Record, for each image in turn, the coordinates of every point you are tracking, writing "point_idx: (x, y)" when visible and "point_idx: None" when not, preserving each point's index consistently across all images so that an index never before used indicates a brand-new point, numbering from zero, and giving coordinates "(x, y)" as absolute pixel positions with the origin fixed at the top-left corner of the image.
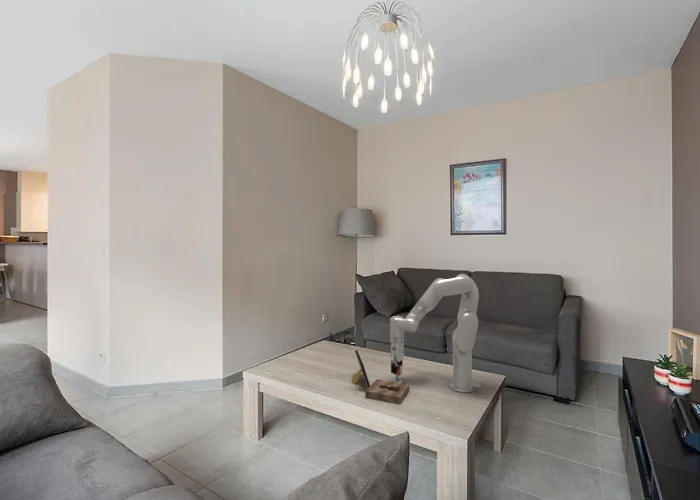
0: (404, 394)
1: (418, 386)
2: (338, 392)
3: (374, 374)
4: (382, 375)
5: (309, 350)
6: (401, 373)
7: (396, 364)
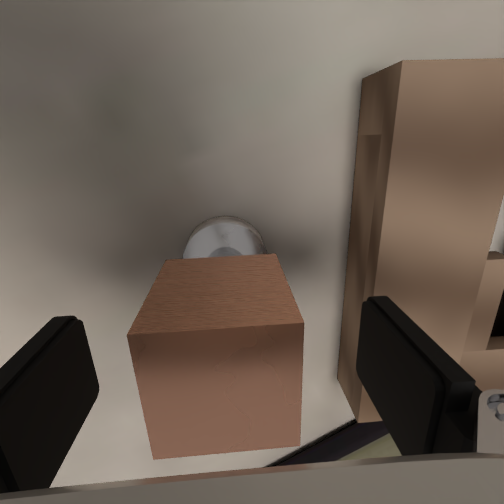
0: None
1: (195, 7)
2: None
3: (148, 465)
4: (131, 417)
5: None
6: (205, 258)
7: (499, 432)
